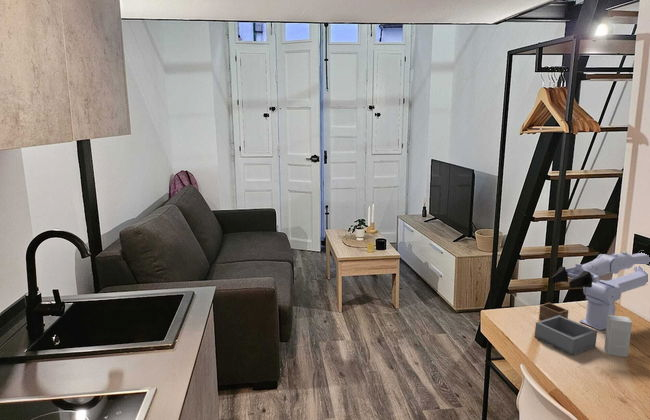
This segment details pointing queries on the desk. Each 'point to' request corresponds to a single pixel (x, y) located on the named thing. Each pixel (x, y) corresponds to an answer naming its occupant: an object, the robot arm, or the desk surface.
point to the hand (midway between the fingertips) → (560, 282)
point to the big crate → (565, 334)
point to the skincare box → (618, 335)
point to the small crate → (551, 311)
